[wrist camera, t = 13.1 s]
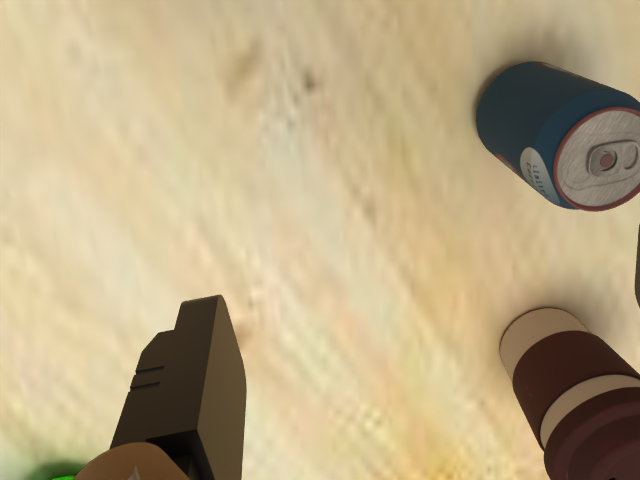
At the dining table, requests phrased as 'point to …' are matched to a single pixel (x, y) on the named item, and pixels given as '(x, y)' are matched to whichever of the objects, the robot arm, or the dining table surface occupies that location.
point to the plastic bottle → (65, 477)
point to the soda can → (563, 135)
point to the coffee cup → (575, 397)
